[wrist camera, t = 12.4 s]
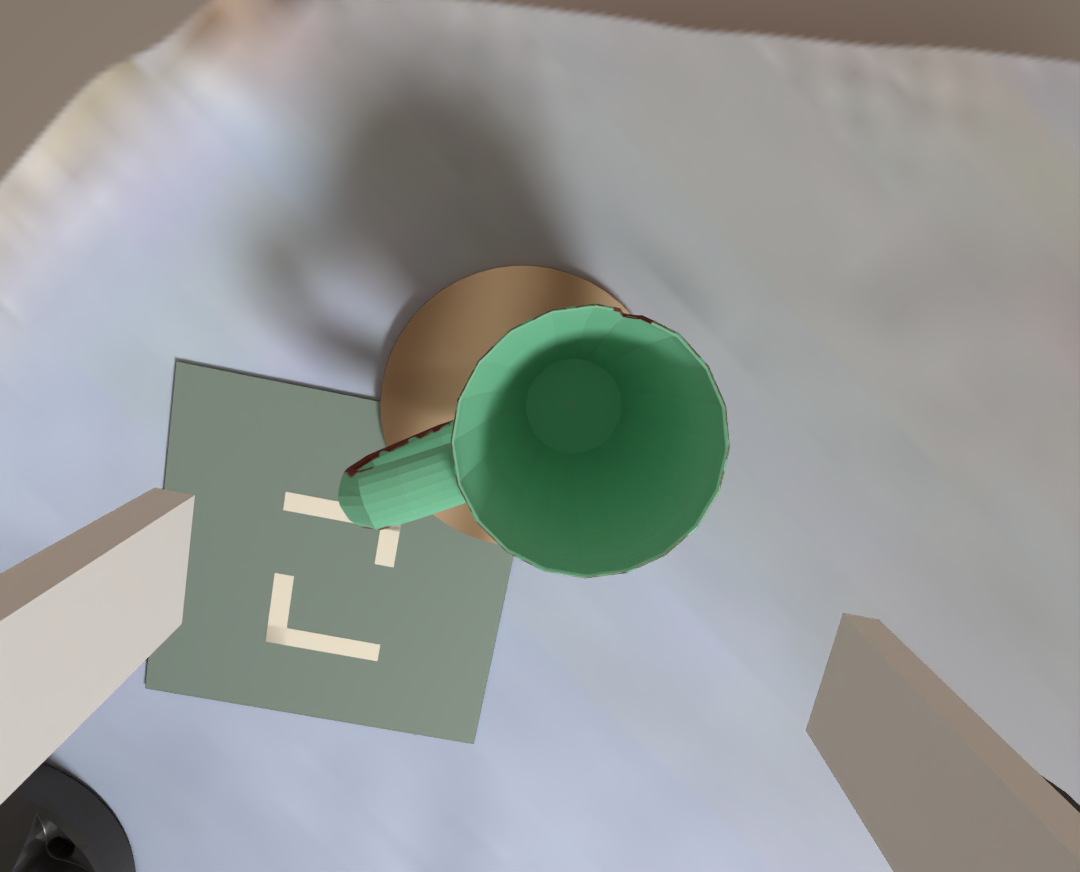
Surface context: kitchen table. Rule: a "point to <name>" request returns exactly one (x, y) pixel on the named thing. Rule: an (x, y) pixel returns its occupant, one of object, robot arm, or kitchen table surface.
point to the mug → (565, 446)
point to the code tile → (317, 570)
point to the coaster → (466, 349)
